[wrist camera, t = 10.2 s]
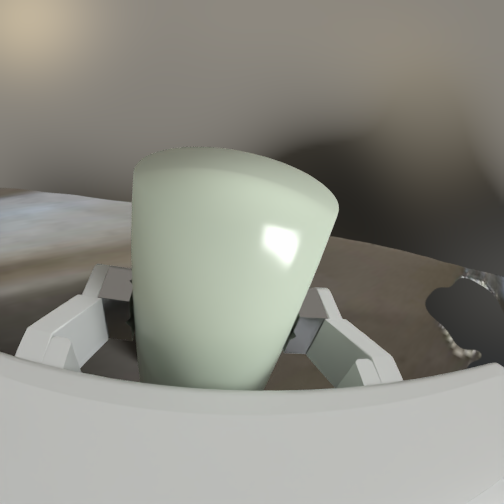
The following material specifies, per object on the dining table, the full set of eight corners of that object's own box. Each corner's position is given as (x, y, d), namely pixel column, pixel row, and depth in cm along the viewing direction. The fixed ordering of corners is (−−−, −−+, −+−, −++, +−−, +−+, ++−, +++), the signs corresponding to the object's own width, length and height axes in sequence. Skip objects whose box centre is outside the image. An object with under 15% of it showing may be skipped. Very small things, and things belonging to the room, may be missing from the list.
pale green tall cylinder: (137, 439, 10) (104, 212, 5) (148, 347, 14) (154, 139, 9) (258, 445, 11) (372, 246, 6) (247, 355, 15) (308, 163, 10)
